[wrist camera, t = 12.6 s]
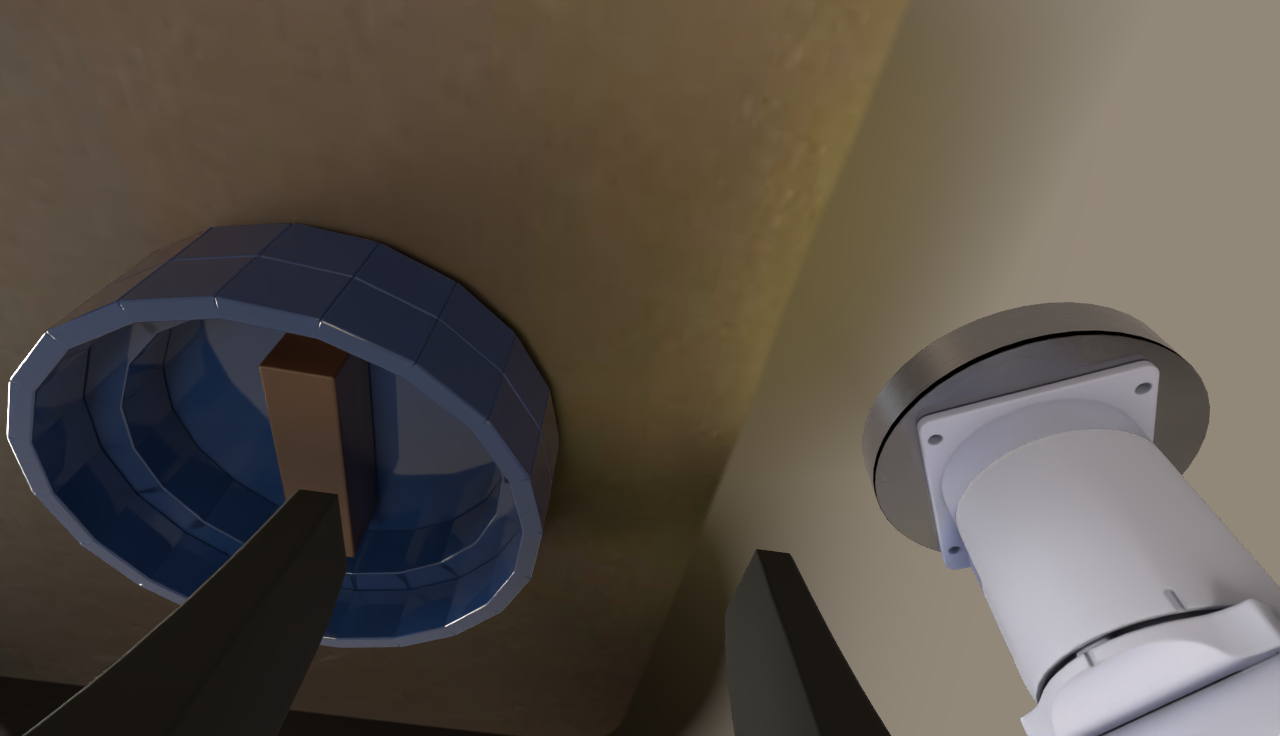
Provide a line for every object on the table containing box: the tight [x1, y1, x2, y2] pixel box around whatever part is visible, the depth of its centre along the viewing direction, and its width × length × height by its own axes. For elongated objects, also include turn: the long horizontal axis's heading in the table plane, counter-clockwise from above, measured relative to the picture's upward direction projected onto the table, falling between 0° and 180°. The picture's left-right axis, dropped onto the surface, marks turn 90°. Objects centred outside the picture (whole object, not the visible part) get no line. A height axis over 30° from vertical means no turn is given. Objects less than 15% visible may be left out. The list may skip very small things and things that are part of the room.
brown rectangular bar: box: [259, 332, 378, 557], centre depth 21 cm, size 8×2×2 cm, turn 169°
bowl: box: [7, 223, 560, 648], centre depth 20 cm, size 14×14×4 cm
